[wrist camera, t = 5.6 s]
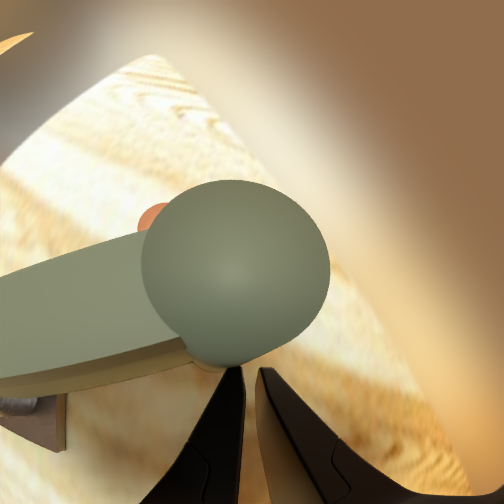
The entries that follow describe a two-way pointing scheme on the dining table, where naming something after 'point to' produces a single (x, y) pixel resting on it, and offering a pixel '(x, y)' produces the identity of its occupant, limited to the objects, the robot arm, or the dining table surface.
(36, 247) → the dining table surface
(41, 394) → the gate
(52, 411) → the hinge post
